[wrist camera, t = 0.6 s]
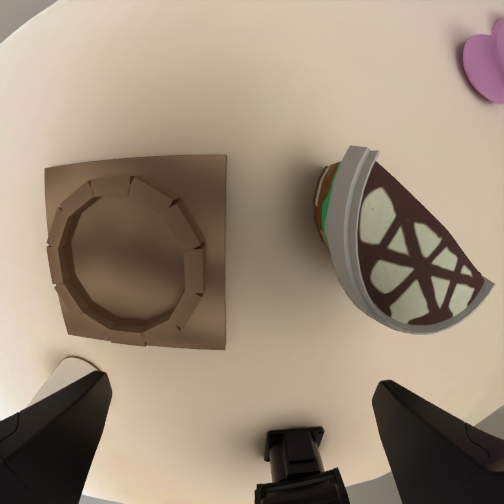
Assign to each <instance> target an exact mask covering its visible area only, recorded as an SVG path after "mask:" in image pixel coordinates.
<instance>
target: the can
mask: <svg viewBox="0 0 504 504" xmlns="http://www.w3.org/2000/svg"><path fill="white" fill-rule="evenodd" d="M95 370H97V371H99V370H98V369H97V368H96V367H95V366H93V365H92V364H90V363H89V362H87V361H85V360H83V359H79V358H66V359H64V360H63V361H62V362H61V363H60V364H59V365H58V367H57V368H56V369H55V370H54V372H53V373H52V374H51V375H50V377H49V378H48V379H47V381H46V382H45V383H44V385H43V386H42V387H41V389H40V390H39V391H38V393H37V394H36V395H35V397H34V398H33V399H32V401H31V402H30V404H29V405H28V407H29V406H31V405H33V404H35V403H36V402H38V401H40V400H42V399H44V398H46V397H48V396H49V395H51V394H53V393H55V392H57V391H58V390H60V389H62V388H64V387H66V386H68V385H69V384H71V383H73V382H75V381H77V380H78V379H80V378H82V377H84V376H85V375H87V374H89V373H91V372H93V371H95Z"/></svg>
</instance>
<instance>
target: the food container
mask: <svg viewBox="0 0 504 504" xmlns="http://www.w3.org/2000/svg"><path fill="white" fill-rule="evenodd" d="M379 153H380V151H371V150H370V149H368V148H367V147H358V146H350V147H349V148H348V150H347V152H346V154H345V156H344V158H343V160H342V161H341V162H338V163H335V164H332V165H330V166H327V167H325V169H324V171H323V173H322V175H321V176H320V178H319V180H318V184H317V188H316V192H315V196H314V219H315V223H316V226H317V229H318V231H319V234H320V237H321V239H322V240H323V242H324V243H325V244H326V246H327V247H328V248H329V250H330V253H331V258H332V263H333V266H334V269H335V272H336V275H337V277H338V280H339V282H340V284H341V286H342V287H343V289H344V291H345V293H346V294H347V296H348V297H349V298H350V299H351V301H352V302H353V303H354V304H355V305H356V307H357V308H359V309H360V310H361V311H362V312H364V313H365V314H366V315H367V316H369V317H371V318H373V319H374V320H376V321H378V322H379V323H381V324H383V325H385V326H387V327H389V328H391V329H393V330H396V331H400V332H404V333H410V334H417V335H427V334H434V333H438V332H441V331H444V330H447V329H449V328H451V327H453V326H455V325H457V324H459V323H460V322H462V321H463V320H464V319H466V318H467V317H468V316H470V315H471V314H472V313H473V312H474V311H475V310H476V309H477V308H478V307H479V306H480V305H481V304H482V303H483V301H484V300H485V299H486V298H487V296H488V295H489V294H490V292H491V290H492V289H493V287H494V286H495V284H494V283H493V282H491V281H489V280H488V279H486V278H485V277H483V276H482V275H481V273H480V272H478V270H477V269H476V268H475V267H474V266H473V264H472V263H471V261H470V260H469V259H468V257H467V256H466V255H465V253H464V252H463V251H462V249H461V248H460V247H459V245H458V244H457V242H456V241H455V239H454V238H453V237H452V235H451V234H450V233H449V231H448V230H447V229H446V228H445V227H444V226H443V225H442V224H441V223H440V222H439V221H438V220H437V219H436V218H435V217H434V216H433V215H432V214H431V213H430V212H429V211H428V210H427V209H426V208H425V207H424V206H423V205H422V204H421V203H420V202H419V201H418V200H417V199H416V198H415V197H414V196H413V195H412V194H411V193H410V192H409V191H408V190H407V189H406V188H405V187H403V186H402V185H401V184H400V183H399V182H398V181H397V180H396V179H395V178H394V177H393V176H392V175H391V174H390V173H389V172H387V171H386V170H385V169H384V168H383V167H382V166H381V165H380V164H378V163H377V162H376V159H377V157H378V155H379Z"/></svg>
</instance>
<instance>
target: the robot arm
mask: <svg viewBox="0 0 504 504" xmlns="http://www.w3.org/2000/svg"><path fill="white" fill-rule="evenodd" d="M111 398H112V389H111V385H110V382H109V378H108V375H107V374H106V373H105V372H102V371H97V370H95V371H93V372H91V373H89V374H87V375H85V376H84V377H82V378H80V379H78V380H77V381H75V382H73V383H71V384H69V385H68V386H66V387H64V388H62V389H60V390H58V391H57V392H55V393H53V394H51V395H49V396H48V397H46V398H44V399H42V400H40V401H38V402H36V403H35V404H33V405H31V406H29V407H27V408H25V409H23V410H21V411H20V413H19V412H18V413H16V414H14V415H12V416H10V417H8V418H6V419H4V420H2V421H0V504H79V500H80V497H81V494H82V491H83V488H84V484H85V481H86V478H87V475H88V472H89V469H90V466H91V464H92V461H93V458H94V455H95V452H96V449H97V447H98V444H99V441H100V439H101V436H102V433H103V429H104V426H105V421H106V417H107V413H108V410H109V406H110V402H111ZM372 406H373V410H374V414H375V418H376V422H377V426H378V431H379V435H380V438H381V442H382V444H383V447H384V450H385V453H386V456H387V459H388V461H389V464H390V467H391V470H392V473H393V476H394V479H395V482H396V485H397V488H398V491H399V495H400V498H401V501H402V504H504V440H503V439H500V438H498V437H495V436H493V435H490V434H488V433H486V432H483V431H481V430H479V429H477V428H475V427H473V426H472V425H470V424H468V423H466V422H465V423H464V421H462V420H460V419H459V418H457V417H455V416H453V415H451V414H450V413H448V412H446V411H444V410H442V409H441V408H439V407H437V406H435V405H434V404H432V403H430V402H428V401H427V400H425V399H423V398H421V397H420V396H418V395H416V394H414V393H413V392H411V391H409V390H408V389H406V388H404V387H403V386H401V385H399V384H397V383H396V382H394V381H392V380H383V381H380V382H379V383H378V385H377V388H376V390H375V393H374V395H373V398H372ZM323 434H324V429H323V428H322V427H320V428H311V429H300V430H286V431H270V432H268V433H267V437H266V445H265V453H264V461H266V462H270V464H271V474H272V483H267V484H257V490H255V504H350V502H349V498H348V494H347V492H346V489H345V486H344V483H343V480H342V477H341V475H340V472H339V469H338V467H337V468H334V469H333V470H329V471H326V472H325V471H324V468H323V464H322V460H321V456H320V452H319V445H320V442H321V440H322V437H323Z"/></svg>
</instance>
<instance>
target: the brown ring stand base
mask: <svg viewBox="0 0 504 504" xmlns="http://www.w3.org/2000/svg"><path fill="white" fill-rule="evenodd" d="M226 165H227V155H173V156H152V157H137V158H124V159H113V160H103V161H93V162H85V163H77V164H70V165H63V166H56V167H50V168H45V201H46V216H47V227H48V236H49V237H48V240H47V244H49V246H47V254H48V260H49V267H50V272H51V278H52V283H53V284H56V286H55V287H54V288H55V290H56V291H57V293H58V296H59V301H60V305H61V309H62V313H63V317H64V321H65V325H66V328H67V332H68V334H69V335H74V336H80V337H86V338H93V339H100V340H107V341H111V342H112V343H119V344H127V345H136V346H146V345H149V346H161V347H173V348H189V349H209V350H225V346H226V332H225V213H226Z"/></svg>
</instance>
